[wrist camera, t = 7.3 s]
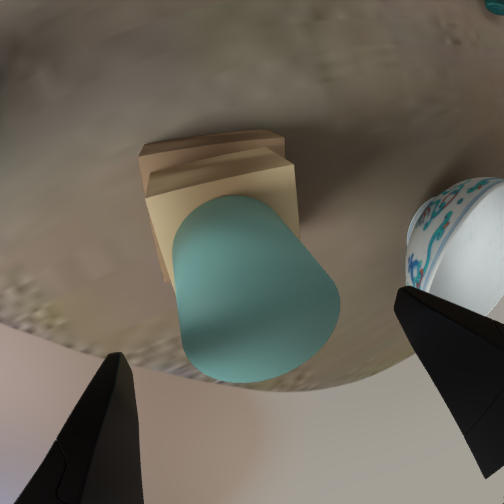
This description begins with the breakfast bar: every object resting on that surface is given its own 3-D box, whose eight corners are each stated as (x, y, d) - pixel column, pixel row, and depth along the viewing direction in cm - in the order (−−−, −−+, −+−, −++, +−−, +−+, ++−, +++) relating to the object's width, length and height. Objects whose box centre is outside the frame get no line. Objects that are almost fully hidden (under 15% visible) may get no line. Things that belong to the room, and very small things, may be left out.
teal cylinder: (185, 308, 14) (200, 395, 10) (160, 208, 12) (162, 282, 8) (287, 284, 15) (333, 359, 11) (284, 185, 13) (346, 242, 8)
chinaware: (476, 135, 23) (538, 160, 16) (473, 255, 31) (516, 290, 24) (357, 184, 22) (424, 228, 16) (376, 316, 30) (417, 367, 24)
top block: (178, 271, 18) (183, 316, 15) (150, 172, 15) (145, 198, 11) (277, 246, 19) (303, 283, 15) (265, 146, 16) (293, 164, 12)
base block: (163, 250, 21) (164, 282, 18) (144, 144, 18) (138, 156, 14) (268, 232, 23) (286, 260, 19) (263, 128, 19) (284, 137, 16)
